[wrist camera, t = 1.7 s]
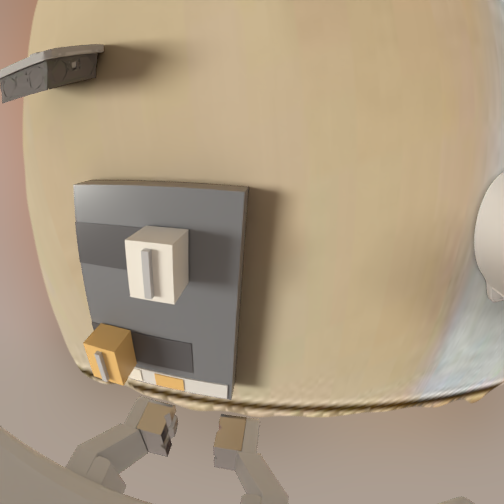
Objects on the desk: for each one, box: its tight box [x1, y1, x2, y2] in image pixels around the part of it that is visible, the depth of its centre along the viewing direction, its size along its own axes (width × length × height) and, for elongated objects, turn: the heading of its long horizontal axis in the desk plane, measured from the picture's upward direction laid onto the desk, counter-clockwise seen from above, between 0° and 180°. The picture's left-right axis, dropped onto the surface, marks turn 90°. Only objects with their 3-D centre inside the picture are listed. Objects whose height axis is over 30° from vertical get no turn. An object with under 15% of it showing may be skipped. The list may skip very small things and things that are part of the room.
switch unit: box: [74, 180, 249, 400], centre depth 29 cm, size 17×24×3 cm
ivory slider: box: [125, 226, 189, 305], centre depth 23 cm, size 4×5×5 cm
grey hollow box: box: [0, 44, 104, 103], centre depth 19 cm, size 9×5×9 cm, turn 83°
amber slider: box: [83, 323, 137, 385], centre depth 28 cm, size 4×5×5 cm
